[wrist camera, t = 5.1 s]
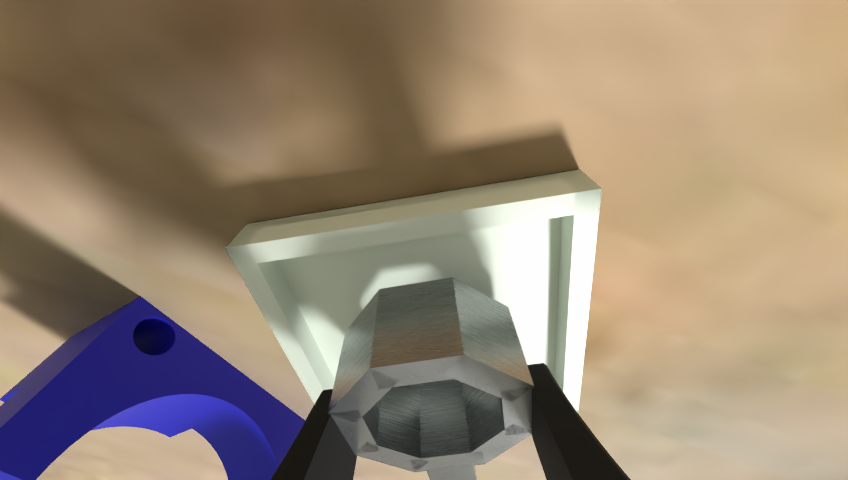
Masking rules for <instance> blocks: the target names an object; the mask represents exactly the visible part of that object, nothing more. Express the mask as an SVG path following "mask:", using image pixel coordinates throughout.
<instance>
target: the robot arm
mask: <svg viewBox="0 0 848 480" xmlns="http://www.w3.org/2000/svg"><path fill="white" fill-rule="evenodd" d="M527 366H528V369H529V372H530V375H531V378H532V381H533V384H534V389H532V436H533V440H534V443H535V446H536V449H537V452H538V455H539V458H540V461H541V464H542V467H543V470H544V473H545V476H546V479H547V480H630V478H629V477H628V476H627V475H626V474H625V473H624V471H623V470H622V469H621V468H620V467H619V465H618V464H617V463H616V462H615V461H614V459H613V458H612V457H611V456H610V455H609V453H608V452H607V451H606V450H605V448H604V447H603V446H602V445H601V443H600V442H599V441H598V440H597V438H596V437H595V436H594V434H593V433H592V432H591V430H590V429H589V428H588V426H587V425H586V424H585V422H584V421H583V420H582V418H581V417H580V416H579V414H578V413H577V411H576V410H575V409H574V407H573V406H572V404H571V403H570V401H569V400H568V399H567V397H566V396H565V394H564V393H563V391H562V390H561V388H560V387H559V385H558V383H557V382H556V380H555V379H554V377H553V375H552V374H551V372H550V370H549V368H548V367H547V365H546V364H544V363H540V364H532V365H527ZM332 391H333V389H328V390H323V391H322V392H321V394H320V396H319V397H318V399H317V401H316V403H315V405H314V406H313V408H312V410H311V412H310V413H309V415H308V417H307V419H306V421H305V422H304V424H303V426H302V428H301V429H300V431H299V433H298V434H297V436H296V438H295V440H294V441H293V443H292V445H291V446H290V448H289V450H288V451H287V453H286V455H285V456H284V458H283V460H282V461H281V463H280V465H279V466H278V468H277V469H276V471H275V473H274V474H273V476H272V477H271V479H270V480H353V476H354V470H355V464H356V458H357V455H355V454H354V452H353V451H352V449H351V447H350V446H349V444H348V442H347V441H346V439H345V437H344V436H343V434H342V432H341V431H340V429H339V427H338V426H337V424H336V423H335V421H334V419H333V418H332V416H331V415H328V410H329V405H330V400H331V396H332Z"/></svg>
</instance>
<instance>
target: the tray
mask: <svg viewBox="0 0 848 480" xmlns="http://www.w3.org/2000/svg"><path fill="white" fill-rule="evenodd" d="M601 192H602V188H601V187H600V186H598V185H597V184H596V183H595V182H594V181H593V180H592V179H590V178H589V177H588V176H587V175H586V174H585V173H584V172H582V171H581V170H574V171H568V172H562V173H555V174H549V175H543V176H537V177H531V178H525V179H519V180H513V181H507V182H500V183H494V184H488V185H482V186H476V187H470V188H464V189H458V190H452V191H445V192H439V193H433V194H427V195H421V196H415V197H409V198H403V199H397V200H390V201H384V202H378V203H372V204H366V205H360V206H354V207H348V208H342V209H335V210H329V211H323V212H317V213H311V214H305V215H299V216H293V217H287V218H280V219H274V220H268V221H262V222H256V223H250V224H246V225H245V227H244V228H243V229H242V230H241V231H240V232H239V233H238V234H237V235H236V236H235V238H234V239H233V240H232V241H231V242H230V243H229V244H228V245H227V246H226V248H225V249H226V251H227V252H228V254H229V256H230V258H231V259H232V261H233V263H234V265H235V266H236V268H237V270H238V272H239V273H240V275H241V277H242V279H243V280H244V282H245V284H246V286H247V287H248V289H249V291H250V293H251V294H252V296H253V298H254V300H255V301H256V303H257V305H258V307H259V308H260V310H261V312H262V314H263V315H264V317H265V319H266V321H267V322H268V324H269V326H270V328H271V329H272V331H273V333H274V335H275V336H276V338H277V340H278V342H279V343H280V345H281V347H282V349H283V350H284V352H285V354H286V356H287V357H288V359H289V361H290V363H291V364H292V366H293V368H294V370H295V371H296V373H297V375H298V377H299V378H300V380H301V382H302V384H303V385H304V387H305V389H306V391H307V392H308V394H309V396H310V398H311V399H312V401H313V403H314V405H315V403H316V401H317V399H318V397H319V396H320V394H321V392H322V391H323V390H328V389H333V387H334V382H335V377H336V373H337V368H338V363H339V359H340V354H341V350H342V345H343V340H344V336H345V332H346V330H347V329H348V328H349V327H350V325H351V324H352V323H353V322H354V320H355V319H356V318H357V317H358V315H359V314H360V313H361V312H362V310H363V309H364V308H365V307H366V305H367V304H368V303H369V302H370V300H371V299H372V298H373V297H374V295H375V294H376V293H377V292H378V290H379V289H383V288H389V287H395V286H401V285H407V284H414V283H420V282H426V281H432V280H438V279H445V278H451V277H453V278H455V279H457V280H459V281H460V282H462V283H464V284H466V285H468V286H470V287H472V288H474V289H475V290H477V291H479V292H481V293H483V294H485V295H487V296H489V297H490V298H492V299H494V300H496V301H498V302H500V303H502V304H504V305H505V306H507V307H508V308H509V311H510V314H511V317H512V320H513V323H514V326H515V329H516V332H517V335H518V338H519V341H520V344H521V347H522V350H523V353H524V357H525V360H526V363H527V365H532V364H540V363H544V364H546V365H547V367H548V368H549V370H550V372H551V374H552V375H553V377H554V379H555V380H556V382H557V383H558V385H559V387H560V388H561V390H562V391H563V393H564V394H565V396H566V397H567V399H568V400H569V401H570V403H571V404H572V406H573V407H574V409H575V410H576V411H577V413H578V410H579V400H580V391H581V381H582V372H583V362H584V353H585V343H586V334H587V324H588V315H589V305H590V296H591V286H592V277H593V267H594V258H595V248H596V239H597V229H598V220H599V211H600V201H601Z"/></svg>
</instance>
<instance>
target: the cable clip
mask: <svg viewBox="0 0 848 480" xmlns="http://www.w3.org/2000/svg"><path fill="white" fill-rule="evenodd" d="M0 400H1V401H3V402H5V403H4V404H3V405H2V406H0V480H36V479H37V478H38V477H39V476H40V475H41V474H42V472H43V471H44V470H45V469H46V468H47V467H48V466H49V465H50V464H51V463H52V462H53V461H54V460H55V459H56V458H57V457H58V456H60V455H61V454H62V453H63V452H64V451H65V450H66V449H67V448H68V447H69V446H71V445H72V444H73V443H74V442H76V441H77V440H78V439H80V438H81V437H82V436H83V435H85V434H86V433H87V432H89V431H90V430H95V429H101V428H106V427H118V426H128V427H140V428H146V429H150V430H154V431H157V432H159V433H162V434H164V435H167V436H168V437H172V436H174V435H177V434H179V433H182V432H184V431H186V430H189V429H191V428H192V429H194V430H195V431H197V432H198V433H199V434H201V435H202V436H203V437H204V438H205V439H206V440H207V441H208V442H209V443H210V444H211V445H212V447H213V448H214V449H215V451H216V452H217V454H218V456H219V457H220V459H221V461H222V463H223V465H224V468H225V470H226V473H227V476H228V480H270V479H271V477H272V476H273V474H274V473H275V471H276V469H277V468H278V466H279V465H280V463H281V461H282V460H283V458H284V456H285V455H286V453H287V451H288V450H289V448H290V446H291V445H292V443H293V441H294V440H295V438H296V436H297V434H298V433H299V431H300V429H301V428H302V426H303V424H304V422H305V420H304V419H302V418H301V417H300V416H298V415H297V414H296V413H294V412H293V411H292V410H290V409H289V408H288V407H286V406H285V405H284V404H283V403H281V402H280V401H279V400H277V399H276V398H275V397H273V396H272V395H271V394H269V393H268V392H267V391H265V390H264V389H263V388H261V387H260V386H259V385H257V384H256V383H255V382H253V381H252V380H251V379H249V378H248V377H247V376H245V375H244V374H243V373H241V372H240V371H239V370H237V369H236V368H235V367H234V366H232V365H231V364H230V363H228V362H227V361H226V360H224V359H223V358H222V357H220V356H219V355H218V354H216V353H215V352H214V351H212V350H211V349H210V348H208V347H207V346H206V345H204V344H203V343H202V342H200V341H199V340H198V339H196V338H195V337H194V336H192V335H191V334H190V333H188V332H187V331H186V330H185V329H183V328H182V327H181V326H179V325H178V324H177V323H175V322H174V321H173V320H171V319H170V318H169V317H167V316H166V315H165V314H163V313H162V312H161V311H159V310H158V309H157V308H155V307H154V306H153V305H151V304H150V303H149V302H147V301H146V300H145V299H143V298H142V297H141V296H140V297H138V298H137V299H135V300H133V301H132V302H130V303H128V304H127V305H125V306H123V307H121V308H120V309H118V310H116V311H115V312H113V313H111V314H110V315H108V316H106V317H105V318H103V319H101V320H99V321H98V322H96V323H94V324H93V325H91V326H89V327H88V328H86V329H84V330H82V331H81V332H79V333H77V334H76V335H74V336H72V337H71V338H69V339H68V340H67V341H66V342H65V343H64V344H63V345H61V346H60V347H59V348H58V349H57V350H56V351H55V352H53V353H52V354H51V355H50V356H49V357H48V358H46V359H45V360H44V361H43V362H42V363H41V364H40V365H38V366H37V367H36V368H35V369H34V370H33V371H32V372H30V373H29V374H28V375H27V376H26V377H25V378H24V379H22V380H21V381H20V382H19V383H18V384H17V385H15V386H14V387H13V388H12V389H11V390H10V391H9V392H7V393H6V394H5V395H4V396H3V397H2V398H1V399H0Z"/></svg>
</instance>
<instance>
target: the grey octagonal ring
mask: <svg viewBox="0 0 848 480" xmlns="http://www.w3.org/2000/svg"><path fill="white" fill-rule="evenodd" d="M532 389H534V384H533V381H532V378H531V375H530V372H529V369H528V366H527V363H526V360H525V357H524V353H523V350H522V347H521V344H520V341H519V338H518V335H517V332H516V329H515V326H514V323H513V320H512V317H511V314H510V311H509V308H508V307H507V306H505V305H504V304H502V303H500V302H498V301H496V300H494V299H492V298H490V297H489V296H487V295H485V294H483V293H481V292H479V291H477V290H475V289H474V288H472V287H470V286H468V285H466V284H464V283H462V282H460V281H459V280H457V279H455V278H453V277H451V278H445V279H438V280H432V281H426V282H420V283H414V284H407V285H401V286H395V287H389V288H383V289H379V290H378V292H377V293H376V294H375V295H374V297H373V298H372V299H371V300H370V302H369V303H368V304H367V305H366V307H365V308H364V309H363V310H362V312H361V313H360V314H359V315H358V317H357V318H356V319H355V320H354V322H353V323H352V324H351V325H350V327H349V328H348V329H347V330H346V332H345V336H344V340H343V345H342V350H341V354H340V359H339V363H338V368H337V373H336V377H335V382H334V387H333V391H332V396H331V400H330V405H329V410H328V415H331V416H332V418H333V419H334V421H335V423H336V424H337V426H338V427H339V429H340V431H341V432H342V434H343V436H344V437H345V439H346V441H347V442H348V444H349V446H350V447H351V449H352V451H353V452H354V454H355V455H357V456H360V457H364V458H367V459H371V460H374V461H378V462H381V463H385V464H388V465H392V466H395V467H399V468H402V469H406V470H409V471H413V472H421V471H427V473H428V476H429V478H430V480H477V478H476V471H475V465H481V464H486V463H487V462H489V461H490V460H492V459H494V458H495V457H497V456H498V455H500V454H501V453H503V452H504V451H506V450H508V449H509V448H511V447H512V446H514V445H515V444H517V443H519V442H520V441H522V440H523V439H525V438H526V437H528V436H530V435H531V434H532Z"/></svg>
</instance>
